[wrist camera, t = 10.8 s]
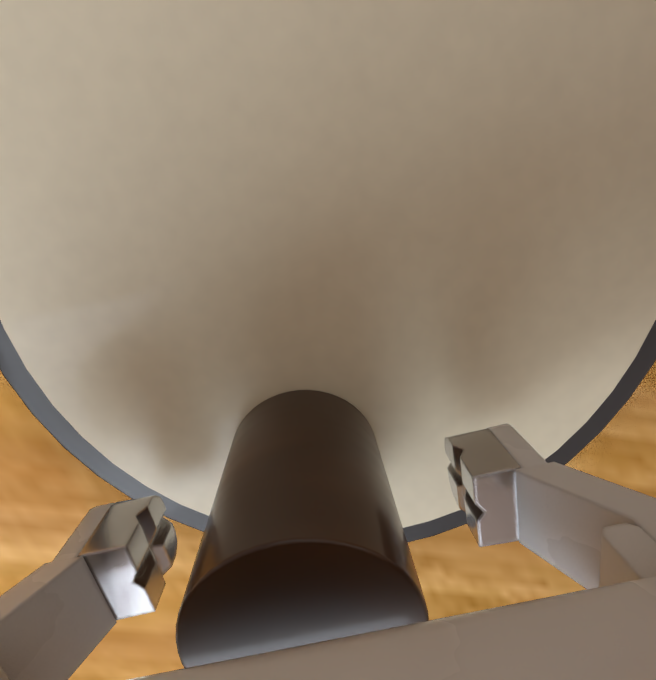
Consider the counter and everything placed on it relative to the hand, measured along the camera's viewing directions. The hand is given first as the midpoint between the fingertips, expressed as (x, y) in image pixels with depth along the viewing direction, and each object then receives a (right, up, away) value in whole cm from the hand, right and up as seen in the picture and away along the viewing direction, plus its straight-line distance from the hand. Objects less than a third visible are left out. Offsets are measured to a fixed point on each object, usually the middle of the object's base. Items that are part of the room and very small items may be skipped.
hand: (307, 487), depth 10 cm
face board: (+1, +6, 0) cm, 6 cm away
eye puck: (0, 0, +1) cm, 2 cm away
